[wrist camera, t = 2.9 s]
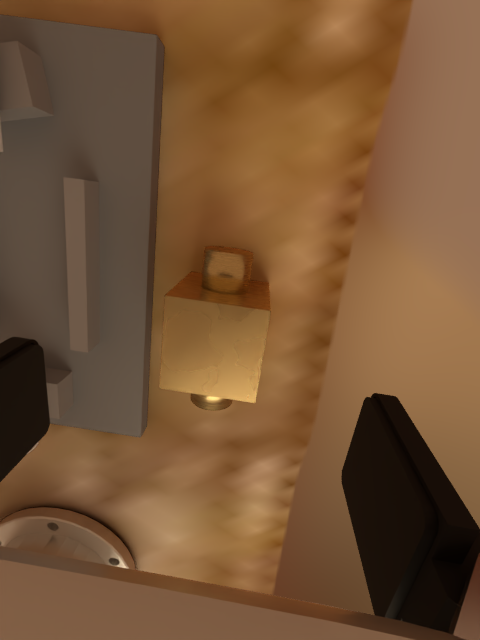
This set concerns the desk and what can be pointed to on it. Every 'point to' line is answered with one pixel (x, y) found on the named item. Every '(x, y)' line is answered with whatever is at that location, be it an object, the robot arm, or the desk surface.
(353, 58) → the desk surface
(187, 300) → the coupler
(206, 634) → the robot arm
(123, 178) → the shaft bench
